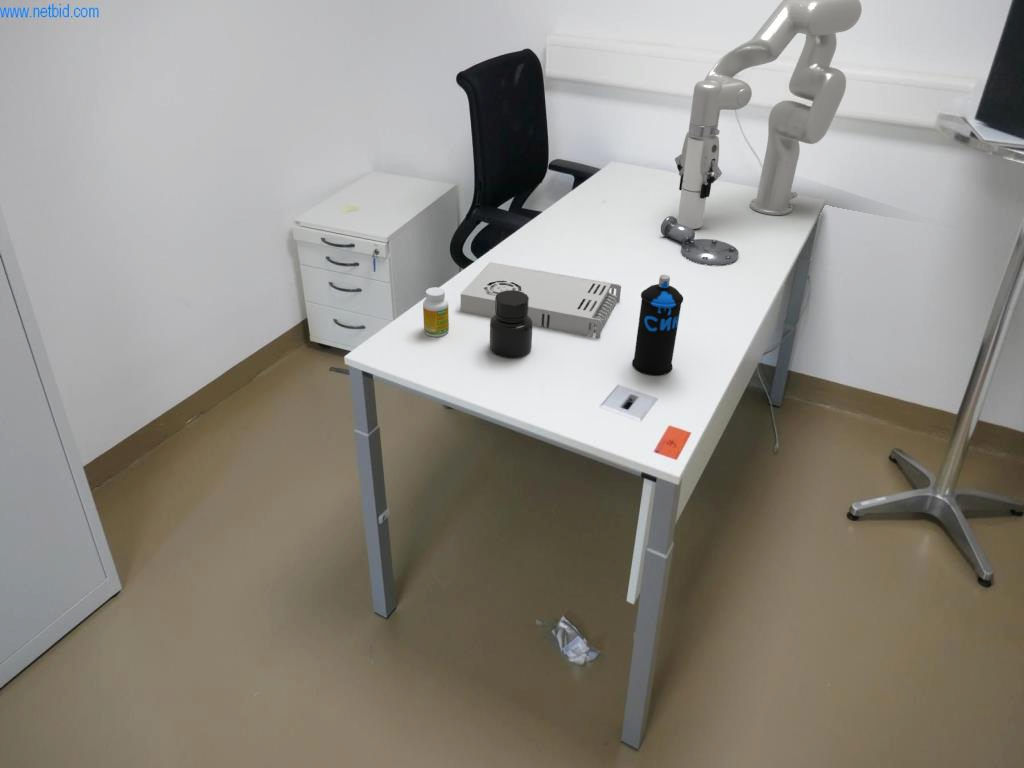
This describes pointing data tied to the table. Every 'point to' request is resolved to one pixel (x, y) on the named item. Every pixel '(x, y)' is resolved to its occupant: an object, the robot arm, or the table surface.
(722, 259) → the flange fitting
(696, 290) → the table surface
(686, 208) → the cylindrical container
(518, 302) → the ink bottle
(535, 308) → the power supply unit
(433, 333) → the supplement bottle
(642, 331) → the aerosol can
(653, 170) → the table surface
